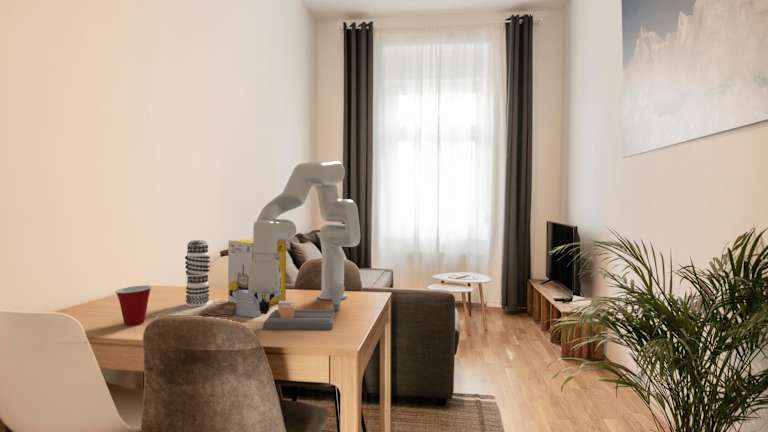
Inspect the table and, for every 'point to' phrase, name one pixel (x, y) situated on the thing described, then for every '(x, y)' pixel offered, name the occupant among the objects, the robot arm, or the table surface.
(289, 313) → the orange cube
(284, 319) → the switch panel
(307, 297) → the table surface
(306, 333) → the table surface
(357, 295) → the table surface
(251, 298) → the medicine box
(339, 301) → the lightbulb
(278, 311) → the off-white block
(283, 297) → the packaging box
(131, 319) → the plastic cup
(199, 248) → the decorative candle
